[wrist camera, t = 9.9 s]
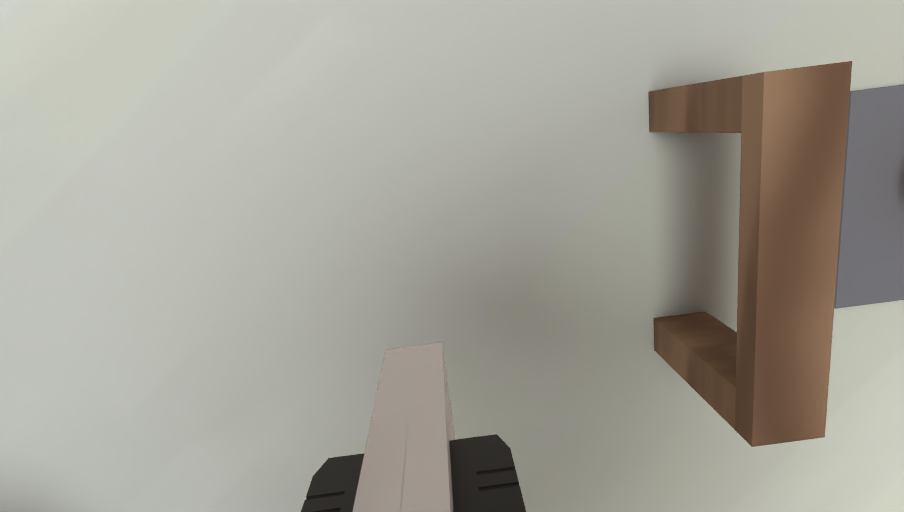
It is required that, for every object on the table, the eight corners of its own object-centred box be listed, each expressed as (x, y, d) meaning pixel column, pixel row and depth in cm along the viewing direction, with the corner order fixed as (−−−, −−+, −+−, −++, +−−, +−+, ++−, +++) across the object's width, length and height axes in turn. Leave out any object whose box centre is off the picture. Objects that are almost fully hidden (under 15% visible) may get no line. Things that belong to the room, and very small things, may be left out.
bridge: (706, 84, 26) (851, 61, 17) (705, 343, 29) (824, 437, 20) (648, 91, 26) (764, 72, 17) (654, 350, 29) (751, 446, 20)
